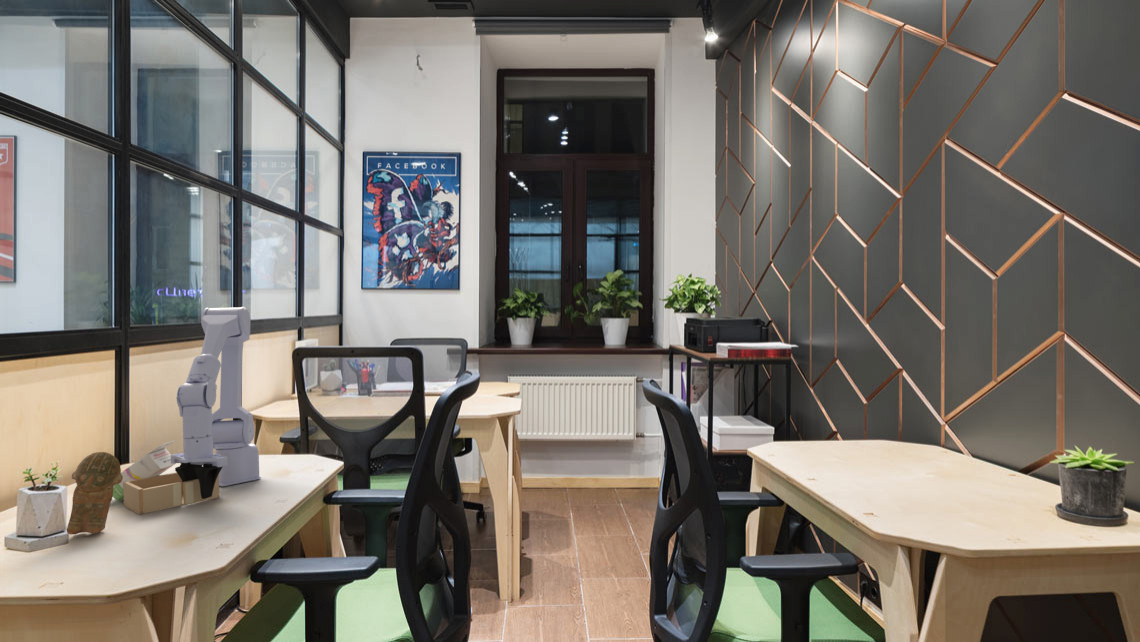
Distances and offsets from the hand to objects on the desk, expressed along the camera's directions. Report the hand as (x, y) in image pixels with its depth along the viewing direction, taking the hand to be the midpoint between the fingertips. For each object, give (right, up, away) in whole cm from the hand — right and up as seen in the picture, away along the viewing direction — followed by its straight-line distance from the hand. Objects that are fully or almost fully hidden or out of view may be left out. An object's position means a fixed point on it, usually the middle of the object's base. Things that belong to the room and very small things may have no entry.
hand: (199, 496), depth 145 cm
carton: (-8, -2, +3) cm, 8 cm away
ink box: (-23, 0, +7) cm, 24 cm away
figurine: (-10, -2, -18) cm, 21 cm away
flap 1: (-6, -2, -4) cm, 7 cm away
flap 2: (0, -1, +1) cm, 2 cm away
